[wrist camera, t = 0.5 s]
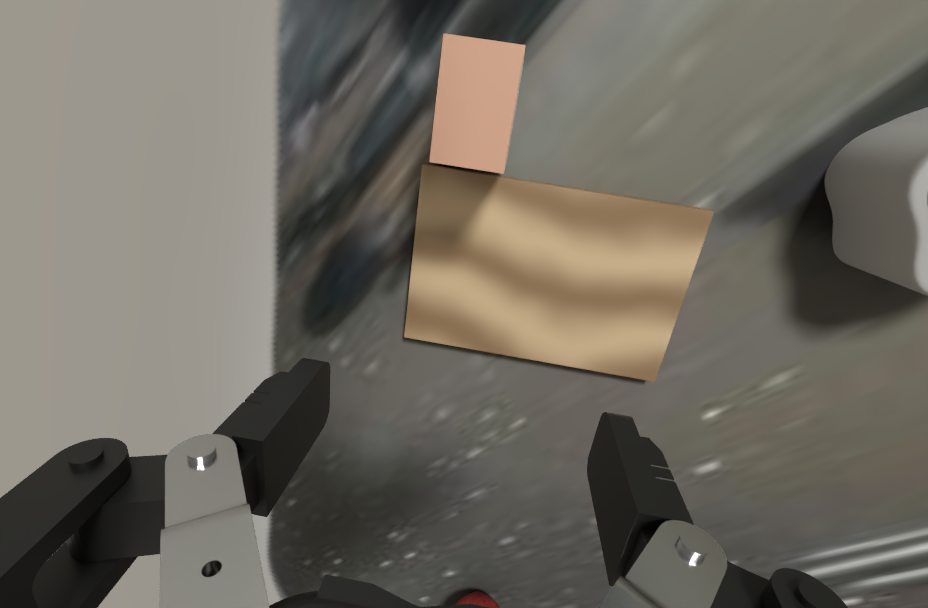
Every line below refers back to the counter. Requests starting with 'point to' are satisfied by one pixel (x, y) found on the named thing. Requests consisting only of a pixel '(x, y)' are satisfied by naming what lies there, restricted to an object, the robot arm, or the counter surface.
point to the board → (550, 271)
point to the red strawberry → (478, 600)
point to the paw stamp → (883, 201)
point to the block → (476, 102)
